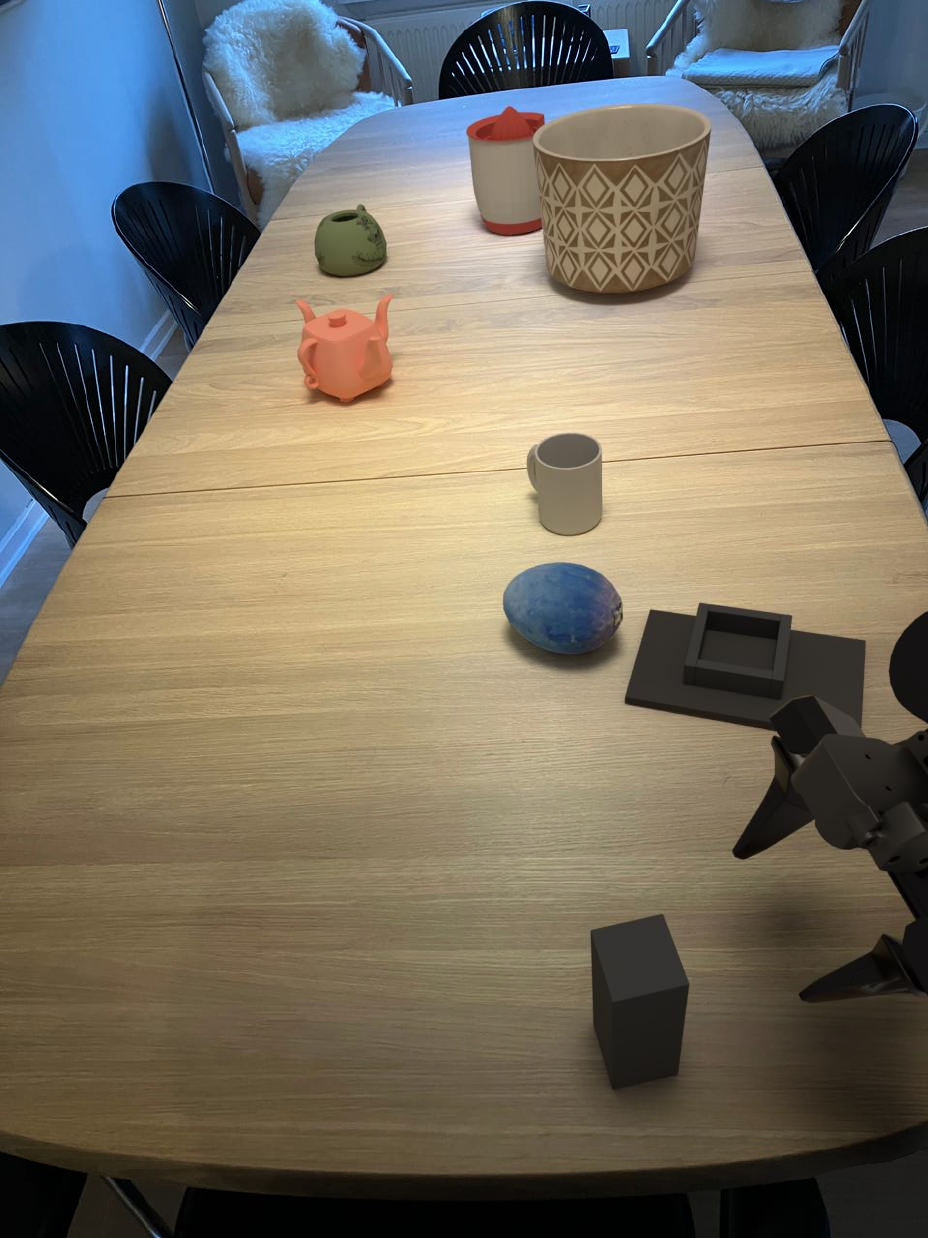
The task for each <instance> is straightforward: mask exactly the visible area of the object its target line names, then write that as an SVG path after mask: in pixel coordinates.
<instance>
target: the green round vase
mask: <svg viewBox="0 0 928 1238" xmlns="http://www.w3.org/2000/svg"><path fill="white" fill-rule="evenodd" d="M387 246H388V245H387V239H386V237H385V234H384V232H383V230H382V228H381V226H380V224H379V222H378V221H377V220H376V219H375V218H374V216H373V215H372V214H371V213H369V212H367V209H366V206H365V205H364V204H362V203H359V204H357V206H356V209H354V208H353V209H343V210H339V211H334V212H332V213H329V214H327V215H326V216H325V217H323V218H322V219H321V221H320V222H319V224H318V226H317V229H316V232H315V237H314V256H315V258H316V260H317V263H318V265H319V267H320V269H321V270H322V271H323V272H326V273H329V274H331V275H333V276H339V277H348V276H350V277H351V276H356V275H361V274H366V273H368V272H371V271H372V270H374V269H376V268H377V267H379V266H380V265H382V263H383V262H384V261H385V260H386V257H387Z"/></svg>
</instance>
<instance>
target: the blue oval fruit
mask: <svg viewBox="0 0 928 1238" xmlns="http://www.w3.org/2000/svg"><path fill="white" fill-rule="evenodd" d="M502 609H503V612H504V615H505V617H506V619H507V621H508V623H509V624H510V625H511V626H512V627H513V629H515V630H516V631H517V633H519V634H520V635H521V636H522V637H523V638H524V639H525V640H527V641H529V642H531V643H532V645H535V646H536V647H538V648H541V649H543V650H546V651H549V652H552V653H555V654H563V655H579V654H585V653H588V652H591V651H594V650H596V649H598V648H600V647H602V646H603V645H605V644H606V643H608V642H610V640H612V639H613V638H614V636H615V635H616V633H617V631H618V629H619V627H620V626H621V623H622V622H623V619H624V611H623V610H624V604H623V601H622V597H621V595H620V594H619V593H618V591H617V589H616V588H615V586H614V585H613V583H612V582H610V580H609V579H608V578H607V577H606V576H605V575H604V574H602V573H601V572H598V571H597V570H595V569H593V568H591V567H589V566H586V565H583V564H580V563H579V564H578V563H574V562H573V563H572V562H566V561H565V562H564V561H562V562H561V561H560V562H559V561H558V562H550V563H549V562H548V563H542V564H538V565H535V566H533V567H530V568H528V569H525V570H523V571H522V572H520V573H518V574H517V575H515V576H514V577H513V578H512V579H511V580H510V582H509V583H508V584H507V586H506V588H505V590H504V591H503V595H502Z"/></svg>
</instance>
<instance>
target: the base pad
mask: <svg viewBox="0 0 928 1238" xmlns="http://www.w3.org/2000/svg"><path fill="white" fill-rule="evenodd" d="M792 622H793V615H792V614H785V613H780V612H772V611H764V610H757V609H749V608H745V607H743V608H742V607H737V606H736V607H735V606H728V605H722V604H715V603H707V602H699V603H698V606H697V610H696V615H693V614H686V613H679V612H672V611H666V610H661V609H660V610H659V609H653V608H651V609H649V612H648V614H647V619H646V622H645V625H644V628H643V632H642V636H641V639H640V642H639V647H638V650H637V653H636V657H635V660H634V663H633V667H632V670H631V674H630V677H629V680H628V684H627V688H626V691H625V694H624V704H626V705H632V706H637V707H642V708H648V709H654V710H658V711H659V710H660V711H665V712H670V713H676V714H683V715H687V716H693V717H698V718H704V719H710V720H716V721H721V722H726V723H732V724H737V725H744V726H748V727H753V728H754V727H755V728H761V729H765V730H770V731H771V730H772V731H776V729H775V728H774V726H773V724H772V722H771V721H770V719H769V718H770V716H771V714H772V713H774V712H775V711H776V710H777V709H779V708H780V707H781V706H782V705H784V704H785V703H786V702H787V701H789V700H790V699H791V698H796V697H800V696H809V695H814V696H816V697H817V698H819V699H821V700H822V701H824V702H826V703H828V704H829V705H831V706H833V707H835V708H836V709H838V710H840V711H842V712H843V713H845V714H847V715H849V716H850V717H852V718H854V720H855V721H856V723H857V724H858V726H859V727H860V729H861V730H862V724H863V705H864V688H865V687H864V686H865V682H864V681H865V669H866V667H865V666H866V665H865V664H866V647H867V641H866V640H865V639H860V638H852V637H845V636H838V635H831V634H823V633H816V632H810V631H804V630H797V629H792Z"/></svg>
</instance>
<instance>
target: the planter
mask: <svg viewBox="0 0 928 1238" xmlns="http://www.w3.org/2000/svg"><path fill="white" fill-rule="evenodd" d="M711 132H712V122H711V120H710V118H709V117H708V116H707V115H705V114H704V113H702V112H700V111H698V110H695V109H692V108H689V107H685V106H680V105H674V104H663V103H623V104H613V105H605V106H599V107H591V108H587V109H582V110H579V111H575V112H572V113H569V114H565V115H562V116H559V117H557V118H555V119H552V120H550V121H548V122H545V125H543V126H542V127H540V128H539V129H538V130H537V131H536V132H535V134H534V136H533V149H534V158H535V166H536V175H537V184H538V193H539V202H540V211H541V220H542V228H541V229H542V238H543V246H544V254H545V255H544V256H545V261H546V262H545V265H546V268H547V270H548V273H549V274H550V275H551V276H552V277H553V278H554V280H556V281H557V282H559V283H560V284H562V285H564V286H567V287H570V288H572V289H577V290H581V291H585V292H590V293H593V294H594V293H595V294H598V295H609V296H610V295H611V296H612V295H613V296H619V295H630V294H636V293H639V292H644V291H647V290H649V289H653V288H656V287H660V286H662V285H665V284H668V283H670V282H673V281H674V280H676V279H678V278H679V277H681V276H682V275H684V274H685V273H686V272H687V271H688V270H689V269H690V268H691V266H692V265H693V263H694V261H695V258H696V253H697V252H696V251H697V244H698V235H699V228H700V222H701V221H700V220H701V212H702V205H703V204H702V203H703V197H704V189H705V181H706V173H707V165H708V158H709V151H710V149H709V148H710V142H711V134H712V133H711Z"/></svg>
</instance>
